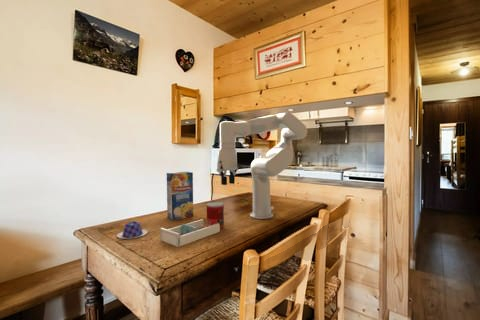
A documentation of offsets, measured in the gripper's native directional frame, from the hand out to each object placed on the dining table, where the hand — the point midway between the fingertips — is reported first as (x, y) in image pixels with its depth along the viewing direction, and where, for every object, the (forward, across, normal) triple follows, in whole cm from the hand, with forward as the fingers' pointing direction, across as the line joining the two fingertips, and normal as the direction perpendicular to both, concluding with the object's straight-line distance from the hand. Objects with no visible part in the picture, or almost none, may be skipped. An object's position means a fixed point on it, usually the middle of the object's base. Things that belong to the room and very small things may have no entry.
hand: (228, 183), depth 119 cm
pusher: (+19, +25, 0) cm, 32 cm away
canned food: (+20, +9, 0) cm, 22 cm away
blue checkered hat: (+20, +38, -21) cm, 48 cm away
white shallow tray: (+19, +23, 0) cm, 30 cm away
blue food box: (+20, +8, -28) cm, 35 cm away
